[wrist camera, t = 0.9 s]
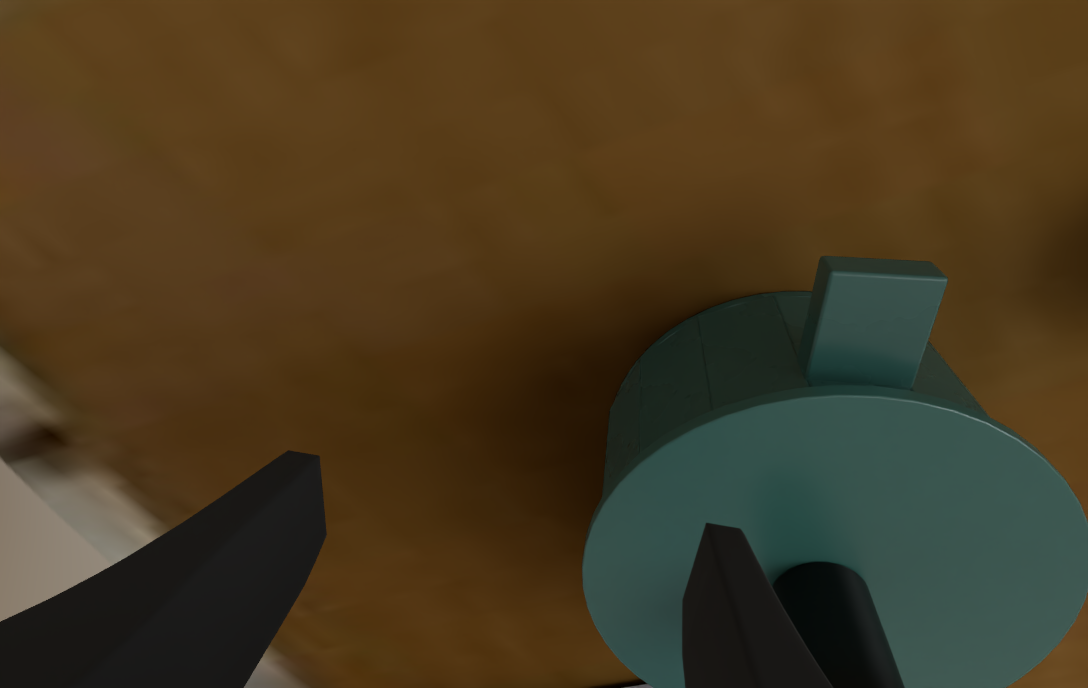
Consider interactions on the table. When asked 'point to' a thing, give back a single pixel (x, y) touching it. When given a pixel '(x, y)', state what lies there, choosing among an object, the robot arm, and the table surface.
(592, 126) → the table surface
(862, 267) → the pot
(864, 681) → the lid
